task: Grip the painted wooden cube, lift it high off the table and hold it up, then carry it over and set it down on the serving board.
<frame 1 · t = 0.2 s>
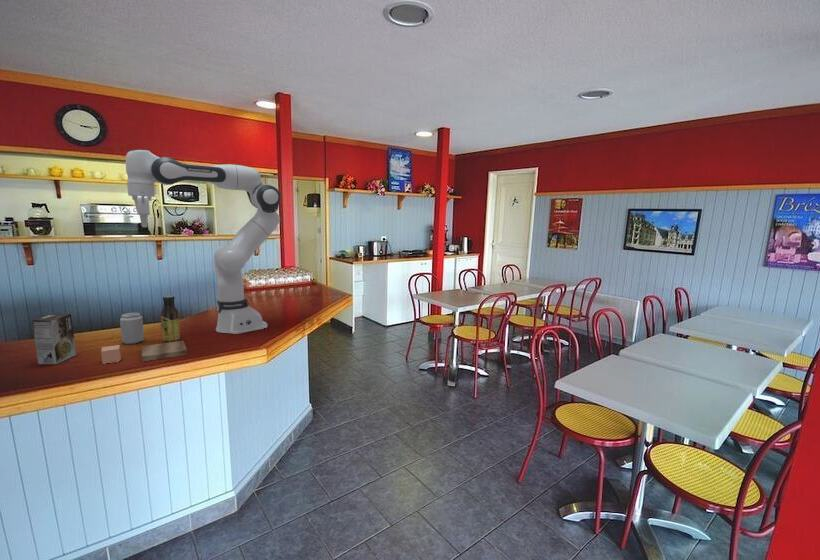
hand: (144, 226, 154), 48 cm above the table, tool pointing down, fingers open, 8 cm apart
coffee box: (57, 360, 137), on the table
sauce bottle: (171, 342, 159), on the table
cube: (112, 361, 137), on the table
serving board: (164, 353, 146), on the table
can: (133, 342, 158), on the table
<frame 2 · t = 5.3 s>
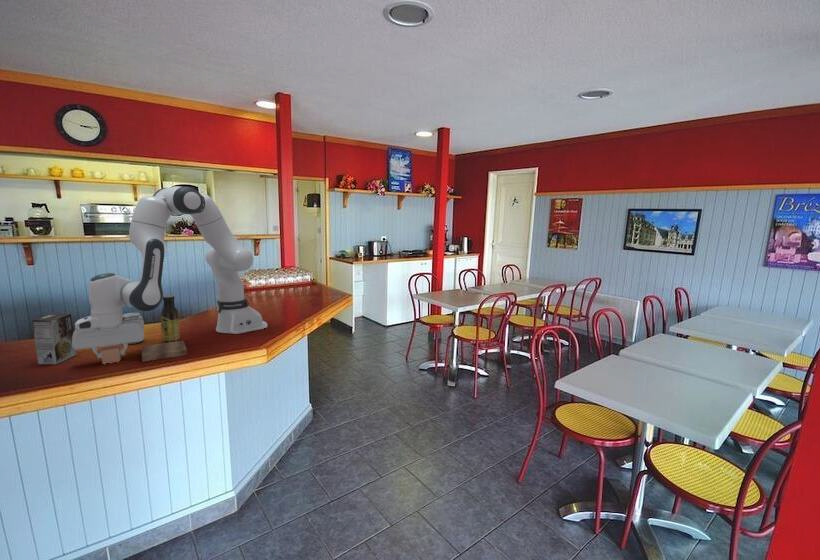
hand: (111, 356, 137), 2 cm above the table, tool pointing down, fingers closed on cube, 5 cm apart
cube: (112, 361, 137), on the table, touching gripper
everything else where it was.
when the fingers open (5 cm above the table, at t = 14.0 s): cube drops 1 cm, resting on serving board.
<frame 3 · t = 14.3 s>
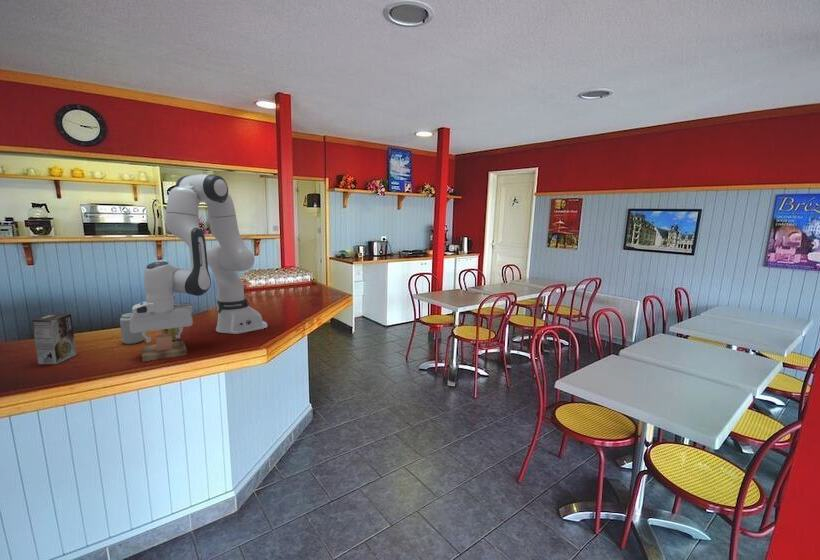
hand: (163, 340, 146), 5 cm above the table, tool pointing down, fingers open, 8 cm apart
cube: (164, 348, 146), point 2 cm above the table, touching serving board
everything else where it was.
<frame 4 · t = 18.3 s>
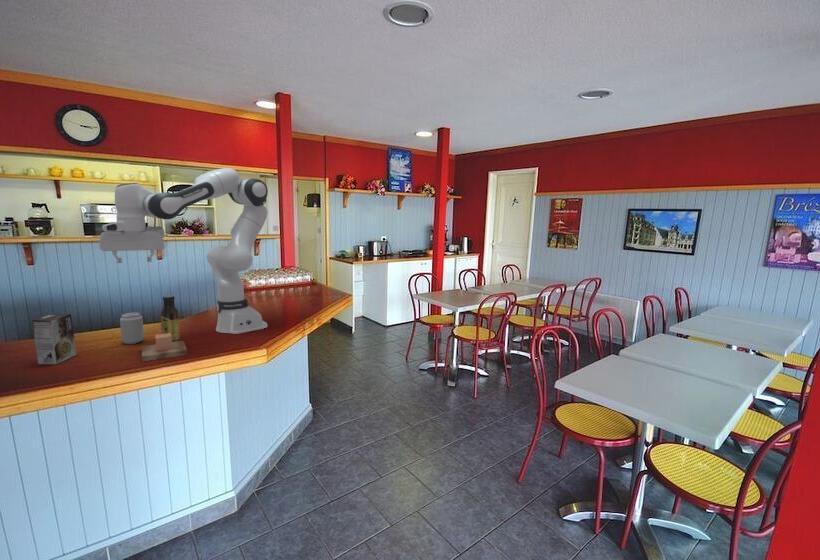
hand: (134, 262, 147), 34 cm above the table, tool pointing down, fingers open, 8 cm apart
nothing on the table moved.
at the end: cube inside the target area on the serving board (0.0 cm from its centre), point 2.0 cm above the serving board's base; cube tilted 0°; the gripper is holding nothing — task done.
